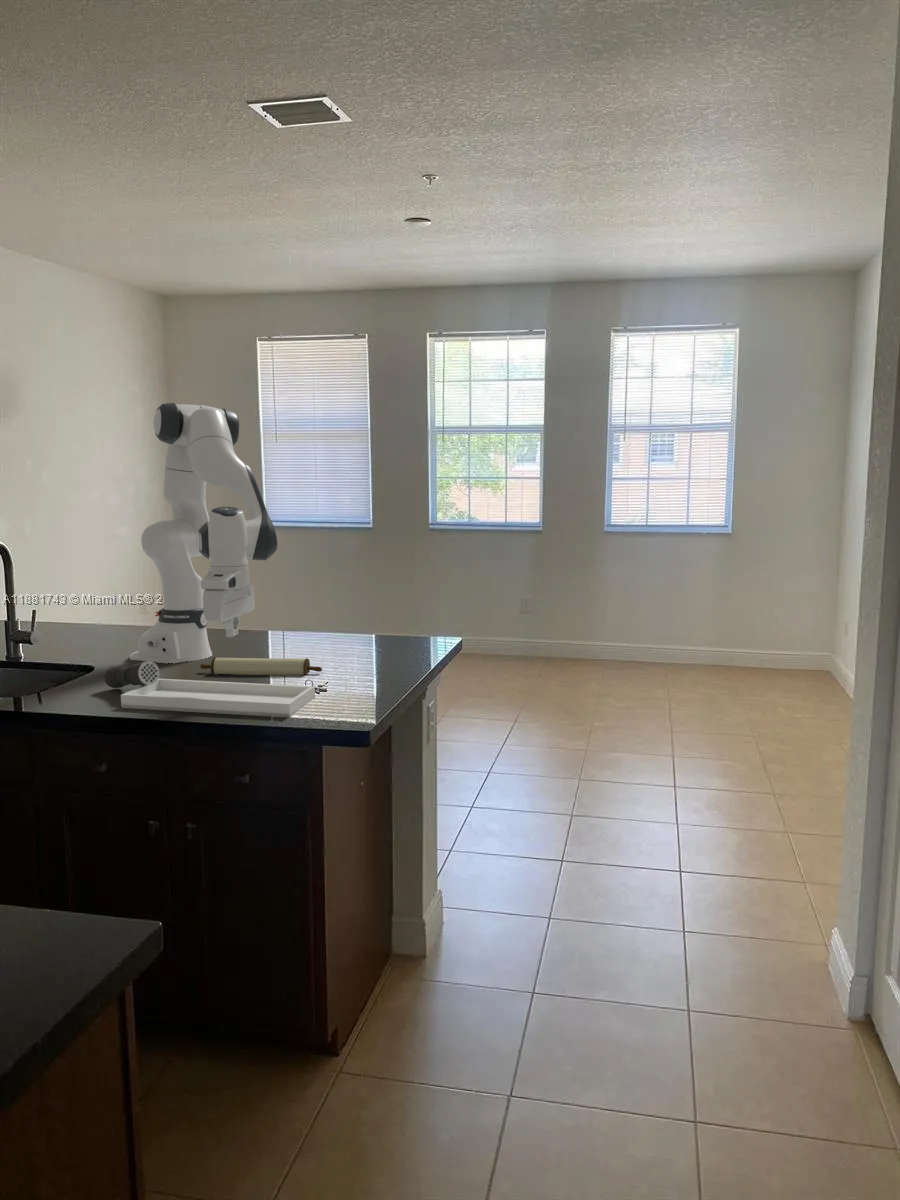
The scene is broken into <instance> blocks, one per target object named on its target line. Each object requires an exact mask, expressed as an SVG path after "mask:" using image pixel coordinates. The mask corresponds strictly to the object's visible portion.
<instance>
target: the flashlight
mask: <svg viewBox="0 0 900 1200" xmlns="http://www.w3.org/2000/svg"><path fill="white" fill-rule="evenodd" d="M103 677H104V683H105V684H106V685H107V686H108V687H110V688H112V689H118V688H119V689H120V688H123V687H125V686H126V687H127V686H129V685H133V686H142V685H150V684H154V683H155V682H156V681H157V680H158V679H160V668H159V666H158V664H156V662H151V661H141V662H138V663H135V664H130V665H129V666H120V665H118V666H111V667H110V668H109V669H107V670H106V672H105V674H104V676H103Z"/></svg>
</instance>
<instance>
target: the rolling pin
mask: <svg viewBox="0 0 900 1200" xmlns="http://www.w3.org/2000/svg"><path fill="white" fill-rule="evenodd" d="M310 663H311V662H310V659H309V658H271V657H270V658H268V657H267V658H260V657H257V658H256V657H255V658H254V657H213V658H212V659H211V661H210V664H207V663H205V664H204V663H201V664H200V665H199V668H200V670H201V669H202V670H209V669H210V673H211V675H212V674H214V675H218V674H231V675H232V676H307V675H308V674H309V673H310V672H311V671H313V672H314V671H315V672H322V671H323V668H322V667H321V666H311V664H310ZM231 675H230V676H231Z"/></svg>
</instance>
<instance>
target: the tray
mask: <svg viewBox="0 0 900 1200" xmlns="http://www.w3.org/2000/svg"><path fill="white" fill-rule="evenodd" d="M315 698H316V686H313V685H312V686H310V685H294V684H293V685H292V684H272V683H255V682H254V683H252V682H250V683H249V682H236V681H235V682H231V681H217V680H216V681H213V680H198V679H197V680H194V679H193V680H192V679H178V678H177V679H175V678H174V679H172V678H171V679H170V678H158V680H157V681H156V682H155V683H154V684H150V685H139V686H138V687H136V688H135V687H134V688H133V689H130V690H129V691H126V692H125V693H122V694H120V705H121V707H120V708H121V709H135V710H152V711H169V712H186V713H187V712H188V713H190V712H191V713H200V714H201V713H203V714H221V715H222V714H223V715H240V716H241V715H242V716H256V717H260V716H261V717H275V718H276V717H278V718H291V717H292V716H294V715H295V714H297V712H299V711H300V710H301V709H302V708H304V707H305V706H306V705H308V704H309V703H310V702H311V701H313V700H314V699H315Z"/></svg>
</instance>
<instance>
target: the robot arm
mask: <svg viewBox="0 0 900 1200" xmlns="http://www.w3.org/2000/svg"><path fill="white" fill-rule="evenodd" d="M152 425H153V428H154V433H155V436H156V437H157V439H158V440H159V441H160V442H163V443H166V444H168V446H167V450H166V456H165V457H166V458H165V464H164V465H165V466H164V481H163V482H164V483H163V484H164V485H163V497H164V499H165V500H166V501H167V502H169V504H170V506H171V509H172V513H173V519H170V520H169V519H168V520H161V521H157V522H156V523H155V522H154V523H153V524H150V525H149V526H147V527H146V528H144V530H143V532H142V534H141V539H140V542H141V547H142V550H143V552H144V553H145V555H146V556H147V557H149V558H150V559H151V560H152V561H153V563H154V564H155V566H156V569H157V572H158V574H159V577H160V581H161V586H162V598H163V599H162V600H163V608H161V609H160V610H158V611H155V612H154V613H155V615H154V616H155V617H158V621H157V622H156V623H155V624H153V625H152V626H150V628H149V629H147V630H146V631H145V632H143V633H142V634H141V635H140V637H139V638H138V643H137V644H138V645H137V651H135V652H132V653H131V654H129V660H130V661H141V662H147V661H151V662H154V663H159V664H160V663H161V664H168V663H170V665H171V663H173V664H177V663H187V662H194V661H196V662H197V661H202V660H206V659H208V657H209V658H211V657H212V656H213V652H212V650H211V646H210V643H209V638H208V631H207V626H208V625H207V624H208V623H209V624H222V625H223V627H224V630H225V637H227V638H234V637H236V636H237V635H239V627H240V622H241V616H242V615H246V614H248V613H251V612H253V611H254V610H255V608H256V602H255V601H256V599H255V598H256V597H255V591H254V585H253V583H252V582H251V581H250V567H249V565H250V564H249V560H252V561H267V560H268V559H269V558H271V557H272V556H273V555H274V554H275V553H276V551H277V550H278V542H279V541H278V534H277V530H276V528H275V526H274V523H273V521H272V520H271V517H270V516H269V513H268V510H267V508H266V505H265V501H264V499H263V496H262V494H261V491H260V487H259V486H258V482H257V480H256V478H255V475H254V473H253V471H252V469H251V467H250V466H249V465H248V464H247V463H244V462H243V461H242V460H241V459H240V458H239V457H238V455H237V454H236V452H235V449H234V445H236V444H237V442H238V440H239V437H240V432H241V425H240V420H239V417H238V416H237V414H236V413H235V412H233V411H232V410H230V409H227V408H218V407H214V406H209V405H203V404H185V403H182V404H181V403H179V404H178V403H175V402H166V403H162V404H161V405H159V406H158V407H157V408H156V412H155V414H154V416H153V424H152ZM207 483H208V484H211V485H214V486H217V487H222V488H225V489H227V490H230V491H232V492H234V493H237V495H239V497H241V498H242V500H243V503H244V507H245V509H246V512H247V515H248V517H249V518H248V519H246V518H245V514H244V511H243V510H242V509H240V508H239V507H233V506H219V507H216V508H212V509H211V510H210V512H208V508H207V507H208V506H207V500H206V499H207V496H206V495H207V494H206V493H207ZM202 556H203V557H204V558H206V559H207V560H209V571H208V572H207V573H206V575H205V576H204V577H202V576H201V575H199V573H197V572H196V570H195V569H194V566H193V562H192V558H196V557H197V558H199V557H202ZM210 656H211V657H210ZM205 658H206V659H205ZM201 659H202V660H201ZM186 661H187V662H186Z"/></svg>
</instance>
